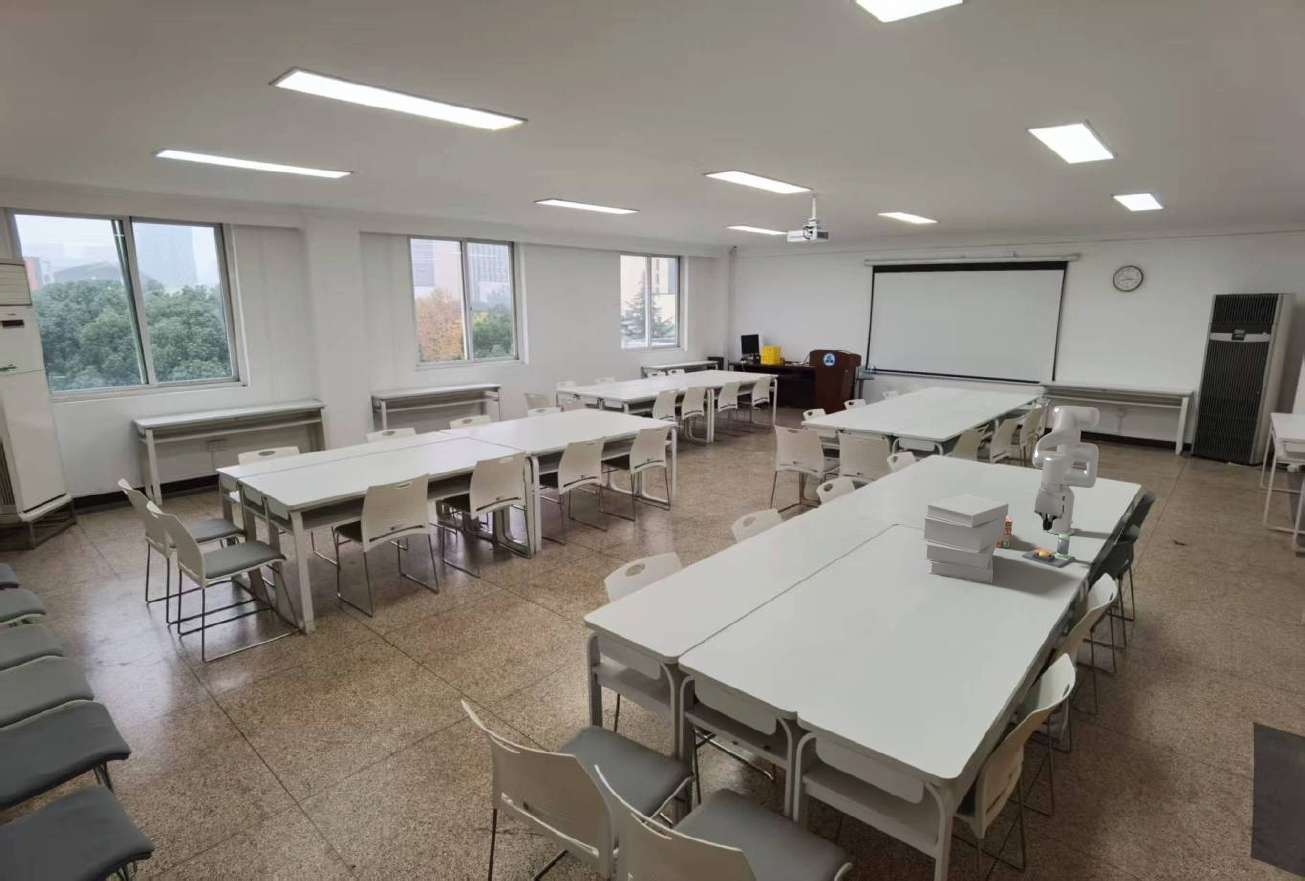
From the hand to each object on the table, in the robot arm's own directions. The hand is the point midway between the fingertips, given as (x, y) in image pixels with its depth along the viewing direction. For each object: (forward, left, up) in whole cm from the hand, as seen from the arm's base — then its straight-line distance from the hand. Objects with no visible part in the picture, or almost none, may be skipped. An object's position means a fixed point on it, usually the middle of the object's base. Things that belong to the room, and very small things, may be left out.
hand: (1047, 529), depth 266 cm
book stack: (+30, -18, -14) cm, 38 cm away
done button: (+1, 0, -12) cm, 12 cm away
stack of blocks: (-9, -25, -14) cm, 30 cm away
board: (-4, 0, -13) cm, 14 cm away
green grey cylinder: (-8, +4, -12) cm, 15 cm away
